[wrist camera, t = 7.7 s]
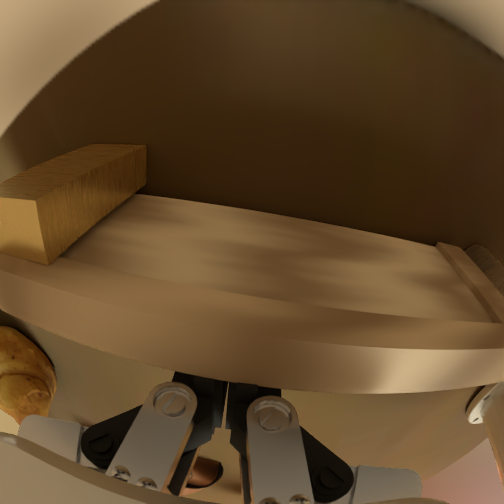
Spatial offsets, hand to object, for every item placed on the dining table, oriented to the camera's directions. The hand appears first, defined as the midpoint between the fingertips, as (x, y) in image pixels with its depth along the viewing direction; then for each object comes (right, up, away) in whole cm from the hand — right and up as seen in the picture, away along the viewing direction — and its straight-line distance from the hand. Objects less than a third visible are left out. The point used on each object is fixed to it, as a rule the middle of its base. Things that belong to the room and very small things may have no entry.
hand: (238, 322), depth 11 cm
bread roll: (-23, -8, +12) cm, 27 cm away
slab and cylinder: (-8, +6, +2) cm, 10 cm away
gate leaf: (+2, +4, +2) cm, 4 cm away
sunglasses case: (-10, -28, +22) cm, 37 cm away
